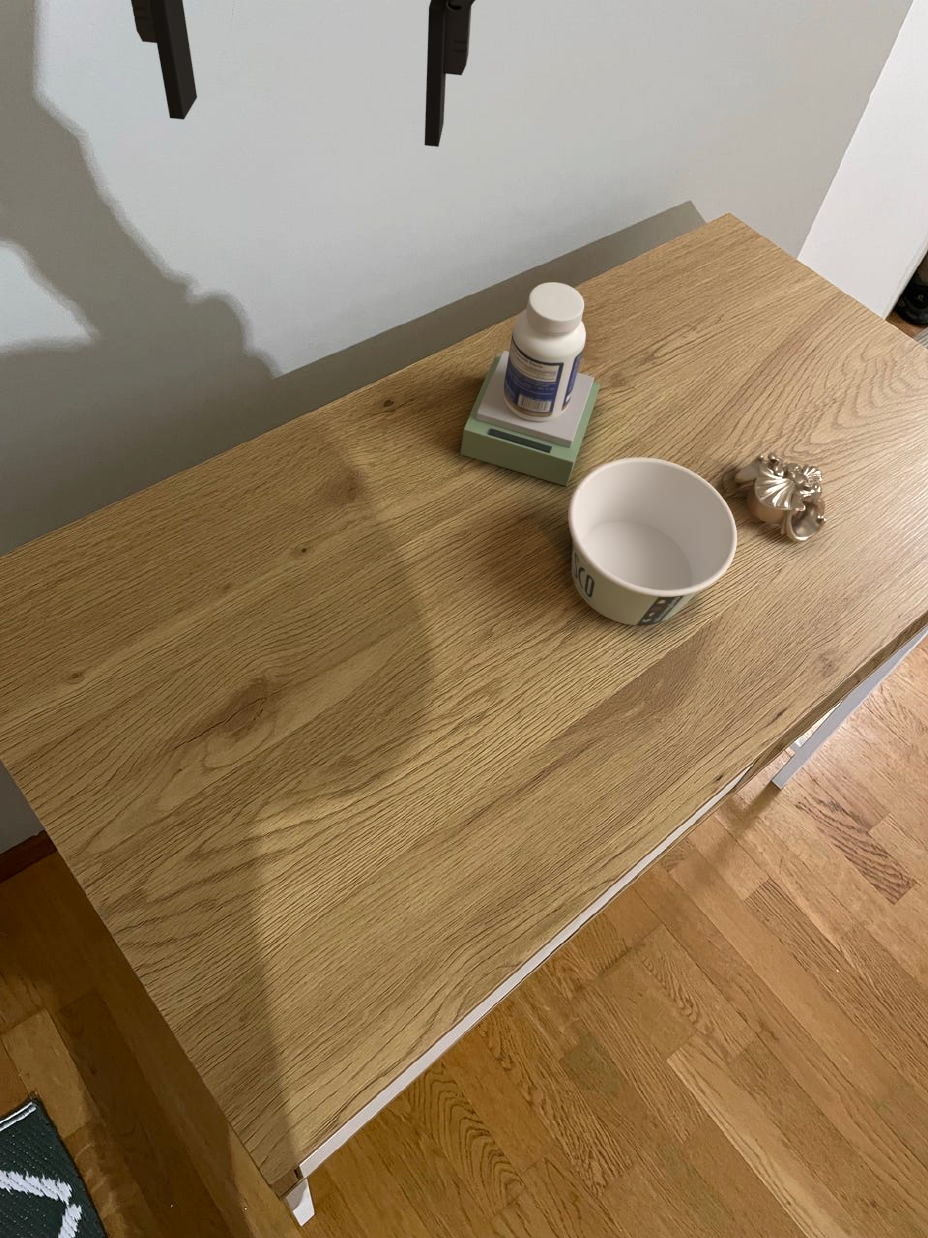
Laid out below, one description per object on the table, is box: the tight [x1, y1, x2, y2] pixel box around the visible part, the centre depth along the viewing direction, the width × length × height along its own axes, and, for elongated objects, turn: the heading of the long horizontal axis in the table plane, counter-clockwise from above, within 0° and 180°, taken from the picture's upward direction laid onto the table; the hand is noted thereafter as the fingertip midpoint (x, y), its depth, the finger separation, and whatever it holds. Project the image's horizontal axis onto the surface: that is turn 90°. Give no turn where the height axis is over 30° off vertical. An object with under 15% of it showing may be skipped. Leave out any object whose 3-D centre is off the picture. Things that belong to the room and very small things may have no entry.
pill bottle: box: [503, 281, 587, 421], centre depth 70 cm, size 5×5×10 cm
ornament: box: [734, 451, 827, 543], centre depth 74 cm, size 8×7×4 cm
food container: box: [567, 456, 738, 626], centre depth 68 cm, size 12×12×6 cm
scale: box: [460, 350, 601, 487], centre depth 76 cm, size 9×9×4 cm
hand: (309, 121), depth 51 cm, fingers open, 13 cm apart
